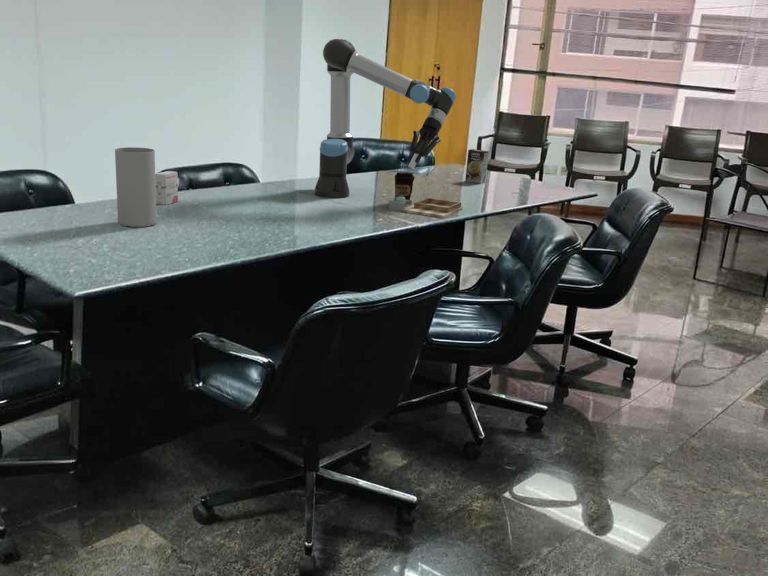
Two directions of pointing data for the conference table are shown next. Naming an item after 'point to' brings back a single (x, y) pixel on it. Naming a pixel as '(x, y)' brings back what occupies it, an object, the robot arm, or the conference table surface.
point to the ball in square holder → (399, 204)
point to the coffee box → (477, 166)
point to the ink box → (166, 187)
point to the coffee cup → (404, 184)
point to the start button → (400, 199)
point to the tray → (434, 207)
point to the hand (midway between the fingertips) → (410, 168)
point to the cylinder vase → (136, 186)
